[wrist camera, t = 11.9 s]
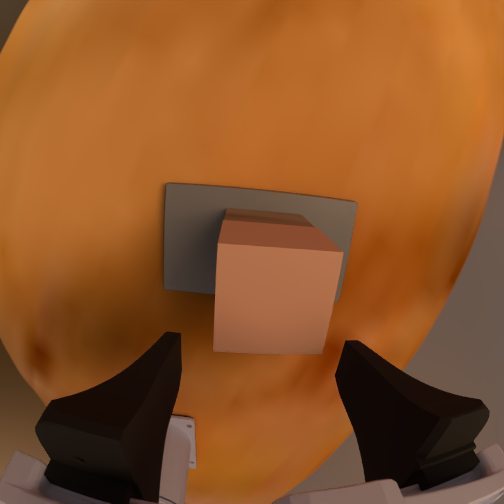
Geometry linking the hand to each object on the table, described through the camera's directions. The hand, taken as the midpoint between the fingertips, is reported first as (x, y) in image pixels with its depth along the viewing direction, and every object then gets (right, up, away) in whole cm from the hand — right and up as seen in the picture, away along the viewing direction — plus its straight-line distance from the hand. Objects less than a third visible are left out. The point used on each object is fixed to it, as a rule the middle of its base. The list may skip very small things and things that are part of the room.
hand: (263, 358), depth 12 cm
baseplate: (0, +5, +7) cm, 9 cm away
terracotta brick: (0, +4, +3) cm, 5 cm away
